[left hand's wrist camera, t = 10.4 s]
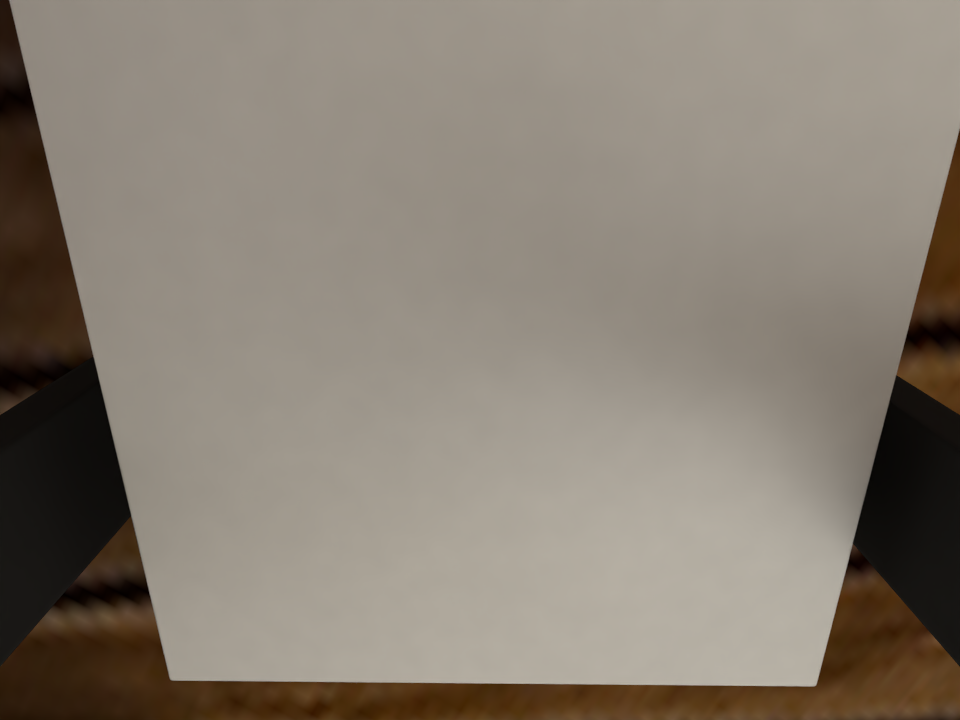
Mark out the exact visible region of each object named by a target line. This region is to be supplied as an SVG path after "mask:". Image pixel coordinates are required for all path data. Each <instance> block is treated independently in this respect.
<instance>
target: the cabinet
mask: <svg viewBox="0 0 960 720" xmlns="http://www.w3.org/2000/svg"><path fill="white" fill-rule="evenodd" d="M9 1H10V5H11V10H12V14H13V18H14V22H15V27H16V31H17V35H18V39H19V43H20V48H21V52H22V56H23V60H24V65H25V69H26V73H27V77H28V81H29V86H30V90H31V94H32V98H33V103H34V107H35V111H36V115H37V120H38V124H39V128H40V132H41V136H42V141H43V145H44V149H45V153H46V158H47V162H48V166H49V170H50V174H51V179H52V183H53V187H54V191H55V196H56V200H57V204H58V208H59V212H60V217H61V221H62V225H63V229H64V234H65V238H66V242H67V246H68V250H69V255H70V259H71V263H72V267H73V272H74V276H75V280H76V284H77V288H78V293H79V297H80V301H81V305H82V310H83V314H84V318H85V322H86V327H87V331H88V335H89V339H90V343H91V348H92V352H93V356H94V360H95V365H96V369H97V373H98V377H99V381H100V386H101V390H102V394H103V398H104V403H105V407H106V411H107V415H108V419H109V424H110V428H111V432H112V436H113V441H114V445H115V449H116V453H117V457H118V462H119V466H120V470H121V474H122V479H123V483H124V487H125V491H126V495H127V500H128V504H129V508H130V512H131V517H132V521H133V525H134V529H135V534H136V538H137V542H138V546H139V550H140V555H141V559H142V563H143V567H144V572H145V576H146V580H147V584H148V588H149V593H150V597H151V601H152V605H153V610H154V614H155V618H156V622H157V626H158V631H159V635H160V639H161V643H162V648H163V652H164V656H165V660H166V664H167V669H168V673H169V677H170V679H171V680H177V681H288V682H398V683H509V684H619V685H730V686H816V684H817V680H818V677H819V673H820V669H821V665H822V661H823V657H824V653H825V649H826V645H827V642H828V638H829V634H830V630H831V626H832V622H833V618H834V614H835V611H836V607H837V603H838V599H839V595H840V591H841V587H842V583H843V579H844V576H845V572H846V568H847V564H848V560H849V556H850V552H851V548H852V545H853V541H854V537H855V533H856V529H857V525H858V521H859V517H860V513H861V510H862V506H863V502H864V498H865V494H866V490H867V486H868V482H869V479H870V475H871V471H872V467H873V463H874V459H875V455H876V451H877V447H878V444H879V440H880V436H881V432H882V428H883V424H884V420H885V416H886V413H887V409H888V405H889V401H890V397H891V393H892V389H893V385H894V381H895V378H896V374H897V370H898V366H899V362H900V358H901V354H902V350H903V346H904V343H905V339H906V335H907V331H908V327H909V323H910V319H911V315H912V312H913V308H914V304H915V300H916V296H917V292H918V288H919V284H920V280H921V277H922V273H923V269H924V265H925V261H926V257H927V253H928V249H929V246H930V242H931V238H932V234H933V230H934V226H935V222H936V218H937V214H938V211H939V207H940V203H941V199H942V195H943V191H944V187H945V183H946V180H947V176H948V172H949V168H950V164H951V160H952V156H953V152H954V148H955V145H956V141H957V137H958V133H959V129H960V0H9Z"/></svg>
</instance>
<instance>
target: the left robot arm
mask: <svg viewBox="0 0 960 720" xmlns="http://www.w3.org/2000/svg"><path fill="white" fill-rule="evenodd" d="M130 516H131V512H130V508H129V504H128V500H127V495H126V491H125V487H124V483H123V479H122V474H121V470H120V466H119V462H118V457H117V453H116V449H115V445H114V441H113V436H112V432H111V428H110V424H109V419H108V415H107V411H106V407H105V403H104V398H103V394H102V390H101V386H100V381H99V377H98V373H97V369H96V365H95V360H94V357H92V358H90V359H89V360H87V361H86V362H84V363H82V364H81V365H79V366H78V367H76V368H74V369H73V370H71V371H70V372H68V373H67V374H65V375H63V376H62V377H60V378H59V379H57V380H55V381H54V382H52V383H51V384H49V385H47V386H46V387H44V388H43V389H41V390H39V391H38V392H36V393H35V394H33V395H32V396H30V397H28V398H27V399H25V400H24V401H22V402H20V403H19V404H17V405H16V406H14V407H12V408H11V409H9V410H8V411H6V412H4V413H3V414H1V415H0V666H1V665H2V664H3V663H4V661H5V660H6V659H7V658H8V657H9V656H10V655H11V653H12V652H13V651H14V650H15V649H16V648H17V647H18V645H19V644H20V643H21V642H22V641H23V640H24V638H25V637H26V636H27V635H28V634H29V633H30V632H31V630H32V629H33V628H34V627H35V626H36V625H37V623H38V622H39V621H40V620H41V619H42V618H43V617H44V615H45V614H46V613H47V612H48V611H49V610H50V608H51V607H52V606H53V605H54V604H55V603H56V602H57V600H58V599H59V598H60V597H61V596H62V595H63V594H64V592H65V591H66V590H67V589H68V588H69V587H70V585H71V584H72V583H73V582H74V581H75V580H76V579H77V577H78V576H79V575H80V574H81V573H82V572H83V570H84V569H85V568H86V567H87V566H88V565H89V564H90V562H91V561H92V560H93V559H94V558H95V557H96V555H97V554H98V553H99V552H100V551H101V550H102V549H103V547H104V546H105V545H106V544H107V543H108V542H109V540H110V539H111V538H112V537H113V536H114V535H115V534H116V532H117V531H118V530H119V529H120V528H121V527H122V526H123V524H124V523H125V522H126V521H127V520H128V519H129V517H130ZM853 544H854V545H855V546H856V547H857V549H858V550H859V551H860V552H861V553H862V554H863V555H864V557H865V558H866V559H867V560H868V561H869V562H870V564H871V565H872V566H873V567H874V568H875V569H876V570H877V572H878V573H879V574H880V575H881V576H882V577H883V579H884V580H885V581H886V582H887V583H888V584H889V585H890V587H891V588H892V589H893V590H894V591H895V592H896V594H897V595H898V596H899V597H900V598H901V599H902V600H903V602H904V603H905V604H906V605H907V606H908V607H909V608H910V610H911V611H912V612H913V613H914V614H915V615H916V617H917V618H918V619H919V620H920V621H921V622H922V623H923V625H924V626H925V627H926V628H927V629H928V630H929V632H930V633H931V634H932V635H933V636H934V637H935V638H936V640H937V641H938V642H939V643H940V644H941V645H942V647H943V648H944V649H945V650H946V651H947V652H948V653H949V655H950V656H951V657H952V658H953V659H954V660H955V661H956V663H957V664H958V665H959V666H960V415H959V414H957V413H956V412H954V411H952V410H951V409H949V408H948V407H946V406H944V405H943V404H941V403H940V402H938V401H936V400H935V399H933V398H932V397H930V396H928V395H927V394H925V393H924V392H922V391H921V390H919V389H917V388H916V387H914V386H913V385H911V384H909V383H908V382H906V381H905V380H903V379H901V378H900V377H898V376H897V375H896V378H895V381H894V385H893V389H892V393H891V397H890V401H889V405H888V409H887V413H886V416H885V420H884V424H883V428H882V432H881V436H880V440H879V444H878V447H877V451H876V455H875V459H874V463H873V467H872V471H871V475H870V479H869V482H868V486H867V490H866V494H865V498H864V502H863V506H862V510H861V513H860V517H859V521H858V525H857V529H856V533H855V537H854V541H853Z"/></svg>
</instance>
